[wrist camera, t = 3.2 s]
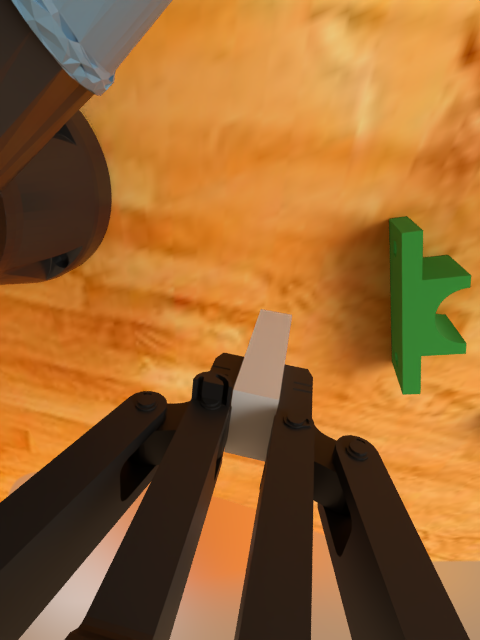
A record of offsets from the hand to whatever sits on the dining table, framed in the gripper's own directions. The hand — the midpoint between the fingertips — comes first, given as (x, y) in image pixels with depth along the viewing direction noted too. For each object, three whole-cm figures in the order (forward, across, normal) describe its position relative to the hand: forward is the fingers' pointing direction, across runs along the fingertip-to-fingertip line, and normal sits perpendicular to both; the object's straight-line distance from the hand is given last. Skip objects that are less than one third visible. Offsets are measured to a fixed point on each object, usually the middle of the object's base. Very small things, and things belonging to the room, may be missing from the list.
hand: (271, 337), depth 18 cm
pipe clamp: (+11, +9, 0) cm, 15 cm away
